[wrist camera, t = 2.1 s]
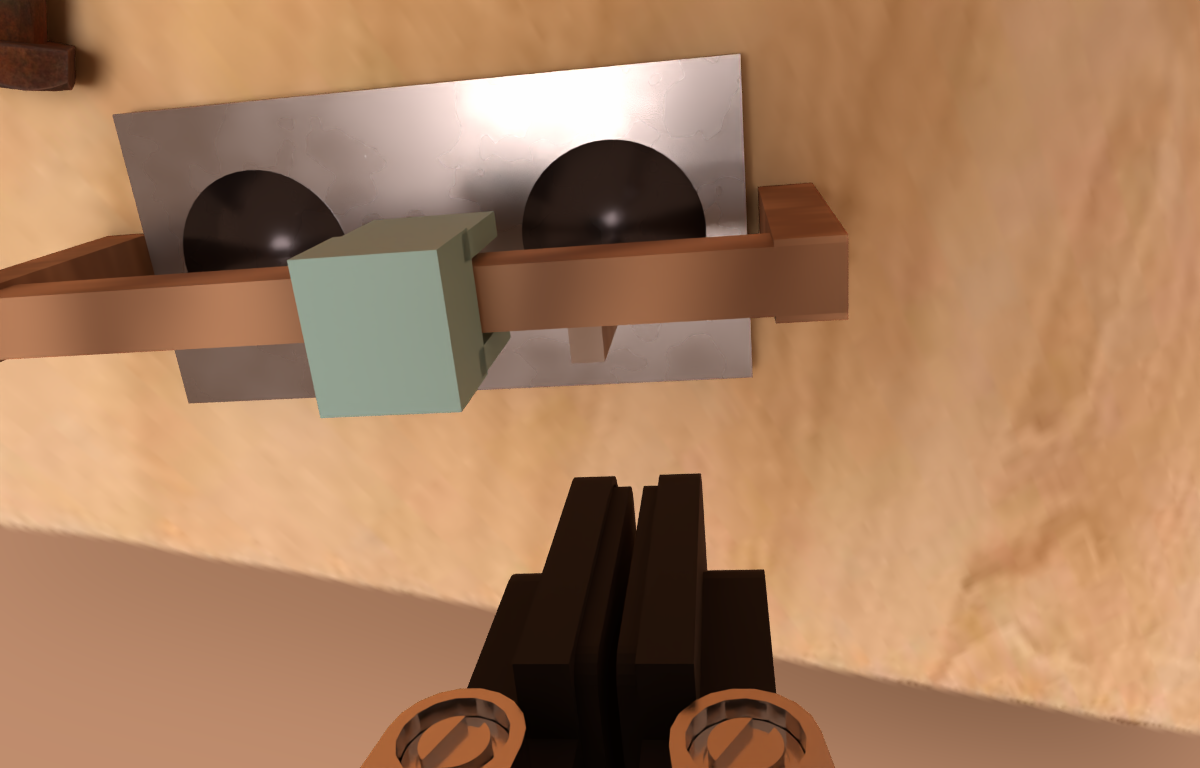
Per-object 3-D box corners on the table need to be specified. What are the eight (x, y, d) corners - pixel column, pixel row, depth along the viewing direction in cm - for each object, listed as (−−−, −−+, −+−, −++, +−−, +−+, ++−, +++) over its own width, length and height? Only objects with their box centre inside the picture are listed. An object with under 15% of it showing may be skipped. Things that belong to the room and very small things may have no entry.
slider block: (526, 184, 34) (436, 249, 23) (539, 298, 35) (461, 412, 24) (422, 192, 34) (286, 260, 23) (440, 305, 36) (320, 417, 25)
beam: (812, 182, 34) (848, 234, 25) (813, 268, 35) (848, 349, 26) (107, 236, 38) (-89, 298, 29) (128, 311, 39) (-55, 394, 30)
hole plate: (739, 53, 33) (740, 53, 32) (751, 367, 37) (752, 377, 36) (130, 112, 36) (111, 114, 35) (203, 393, 40) (187, 403, 39)
